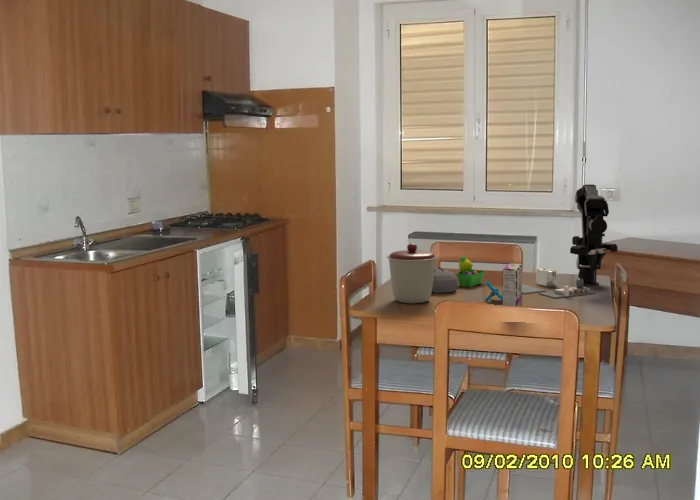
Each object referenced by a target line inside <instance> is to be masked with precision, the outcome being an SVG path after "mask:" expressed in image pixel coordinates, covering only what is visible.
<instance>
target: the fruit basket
mask: <svg viewBox="0 0 700 500" xmlns="http://www.w3.org/2000/svg"><path fill="white" fill-rule="evenodd" d="M458 269H459V271H458V272H456V273H455V276H456V279H457V283H458V285H459V286H461V287H470V288H471V287H474V286H476V285H480V284H482V280H483V276H484V274H485V270H481V269H479V270H478V269H474V268H473V263H472V261H470V260H469V259H468V258H467V257H465V256H460V257H459V259H458Z"/></svg>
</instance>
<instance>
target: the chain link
mask: <svg viewBox="0 0 700 500" xmlns="http://www.w3.org/2000/svg"><path fill="white" fill-rule="evenodd" d="M535 274H536V277H535V279H536V280H535V281H536V282H535V283H536V285H538V286H543V287H548V288H555V287H556V286H557V270H553V269H548V268H545V267H544V268H542V267H541V268H540V267H539V268H536V273H535Z"/></svg>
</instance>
